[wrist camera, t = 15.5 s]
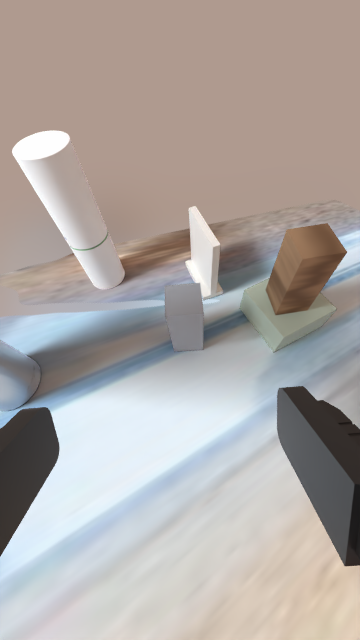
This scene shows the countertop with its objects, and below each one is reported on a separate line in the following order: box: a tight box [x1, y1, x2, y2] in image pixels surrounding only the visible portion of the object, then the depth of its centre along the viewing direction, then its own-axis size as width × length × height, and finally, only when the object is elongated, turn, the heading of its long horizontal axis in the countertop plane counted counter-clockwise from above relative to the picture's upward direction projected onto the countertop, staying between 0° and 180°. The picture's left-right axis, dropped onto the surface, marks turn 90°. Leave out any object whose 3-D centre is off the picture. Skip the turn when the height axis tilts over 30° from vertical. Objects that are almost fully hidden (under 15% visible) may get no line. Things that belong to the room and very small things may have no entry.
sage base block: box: [240, 278, 337, 352], centre depth 41 cm, size 10×10×6 cm
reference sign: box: [185, 206, 223, 300], centre depth 44 cm, size 4×10×13 cm, turn 19°
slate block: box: [165, 283, 204, 352], centre depth 38 cm, size 5×5×12 cm
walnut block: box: [266, 223, 347, 315], centre depth 33 cm, size 5×5×12 cm
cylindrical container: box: [12, 131, 125, 289], centre depth 41 cm, size 7×7×25 cm
